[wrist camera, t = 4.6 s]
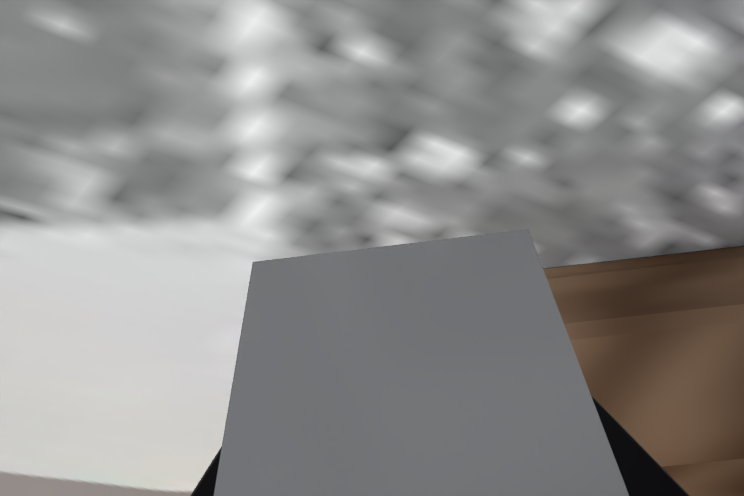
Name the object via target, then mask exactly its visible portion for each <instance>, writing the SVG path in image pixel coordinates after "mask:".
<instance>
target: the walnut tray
mask: <svg viewBox="0 0 744 496" xmlns="http://www.w3.org/2000/svg"><path fill="white" fill-rule="evenodd" d="M543 270H544V273H545V275H546V278H547V281H548V283H549V286H550V288H551V291H552V294H553V296H554V299H555V302H556V304H557V307H558V310H559V312H560V315H561V317H562V320H563V323H564V325H565V328H566V331H567V333H568V336H569V339H570V341H571V344H572V346H573V349H574V352H575V354H576V357H577V360H578V362H579V365H580V368H581V370H582V373H583V375H584V378H585V381H586V383H587V386H588V389H589V391H590V394H591V395H592V396H593V397H594V398H595V399H596V400H597V401H598V402H599V403H600V404H601V405H602V407H603V408H604V409H605V410H606V411H607V412H608V413H609V414H610V415H611V416H612V417H613V418H614V419H615V420H616V421H617V422H618V423H619V424H620V425H621V426H622V427H623V428H624V429H625V430H626V431H627V432H628V433H629V434H630V435H631V436H632V437H633V438H634V439H635V440H636V441H637V442H638V443H639V444H640V445H641V446H642V447H643V449H644V450H645V451H646V452H647V453H648V454H649V455H650V456H651V457H652V458H653V459H654V460H655V461H656V462H657V463H658V464H659V465H660V466H661V467H662V468H663V469H664V470H665V471H666V472H667V473H668V474H669V475H670V476H671V477H672V478H673V479H674V480H675V481H676V482H677V483H678V484H679V485H680V486H681V487H682V488H683V489H684V490H685V492H686V493H687V494H688V495H689V496H744V246H741V247H732V248H723V249H715V250H706V251H697V252H688V253H679V254H671V255H662V256H653V257H644V258H635V259H627V260H618V261H609V262H600V263H591V264H583V265H574V266H565V267H556V268H547V269H543Z"/></svg>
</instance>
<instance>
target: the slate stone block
mask: <svg viewBox="0 0 744 496" xmlns="http://www.w3.org/2000/svg"><path fill="white" fill-rule="evenodd" d="M214 496H629V494H628V491H627V489H626V486H625V483H624V481H623V478H622V476H621V473H620V470H619V468H618V465H617V462H616V460H615V457H614V454H613V452H612V449H611V447H610V444H609V441H608V439H607V436H606V433H605V431H604V428H603V425H602V423H601V420H600V418H599V415H598V412H597V410H596V407H595V404H594V402H593V399H592V397H591V394H590V391H589V389H588V386H587V383H586V381H585V378H584V375H583V373H582V370H581V368H580V365H579V362H578V360H577V357H576V354H575V352H574V349H573V346H572V344H571V341H570V339H569V336H568V333H567V331H566V328H565V325H564V323H563V320H562V317H561V315H560V312H559V310H558V307H557V304H556V302H555V299H554V296H553V294H552V291H551V288H550V286H549V283H548V281H547V278H546V275H545V273H544V270H543V267H542V265H541V262H540V259H539V257H538V254H537V252H536V249H535V246H534V244H533V241H532V238H531V236H530V233H529V230H519V231H511V232H502V233H494V234H486V235H477V236H469V237H460V238H452V239H443V240H435V241H427V242H418V243H410V244H401V245H393V246H384V247H376V248H367V249H359V250H351V251H342V252H334V253H325V254H317V255H308V256H300V257H292V258H283V259H275V260H266V261H258V262H253V265H252V271H251V276H250V282H249V288H248V294H247V300H246V306H245V312H244V318H243V324H242V330H241V336H240V342H239V348H238V354H237V360H236V366H235V372H234V378H233V383H232V389H231V395H230V401H229V407H228V413H227V419H226V425H225V431H224V437H223V443H222V449H221V455H220V461H219V467H218V473H217V479H216V484H215V490H214Z"/></svg>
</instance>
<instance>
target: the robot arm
mask: <svg viewBox="0 0 744 496" xmlns="http://www.w3.org/2000/svg"><path fill="white" fill-rule="evenodd" d="M591 397H592V399H593V402H594V404H595V407H596V410H597V412H598V415H599V418H600V420H601V423H602V425H603V428H604V431H605V433H606V436H607V439H608V441H609V444H610V447H611V449H612V452H613V454H614V457H615V460H616V462H617V465H618V468H619V470H620V473H621V476H622V478H623V481H624V483H625V486H626V489H627V491H628V494H629V496H689V495H688V494H687V493H686V492H685V490H684V489H683V488H682V487H681V486H680V485H679V484H678V483H677V482H676V481H675V480H674V479H673V478H672V477H671V476H670V475H669V474H668V473H667V472H666V471H665V470H664V469H663V468H662V467H661V466H660V465H659V464H658V463H657V462H656V461H655V460H654V459H653V458H652V457H651V456H650V455H649V454H648V453H647V452H646V451H645V450H644V449H643V447H642V446H641V445H640V444H639V443H638V442H637V441H636V440H635V439H634V438H633V437H632V436H631V435H630V434H629V433H628V432H627V431H626V430H625V429H624V428H623V427H622V426H621V425H620V424H619V423H618V422H617V421H616V420H615V419H614V418H613V417H612V416H611V415H610V414H609V413H608V412H607V411H606V410H605V409H604V408H603V407H602V405H601V404H600V403H599V402H598V401H597V400H596V399H595V398H594V397H593V396H592V395H591ZM221 449H222V447H221V448H220V450H219V452H218V453H217V455H216V456H215V458H214V459H213V461H212V463H211V464H210V466H209V467H208V469H207V470H206V472H205V474H204V475H203V477H202V478H201V480H200V482H199V483H198V485H197V486H196V488H195V489H194V491H193V493H192V494H191V496H214V490H215V484H216V479H217V473H218V467H219V461H220V455H221Z"/></svg>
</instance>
